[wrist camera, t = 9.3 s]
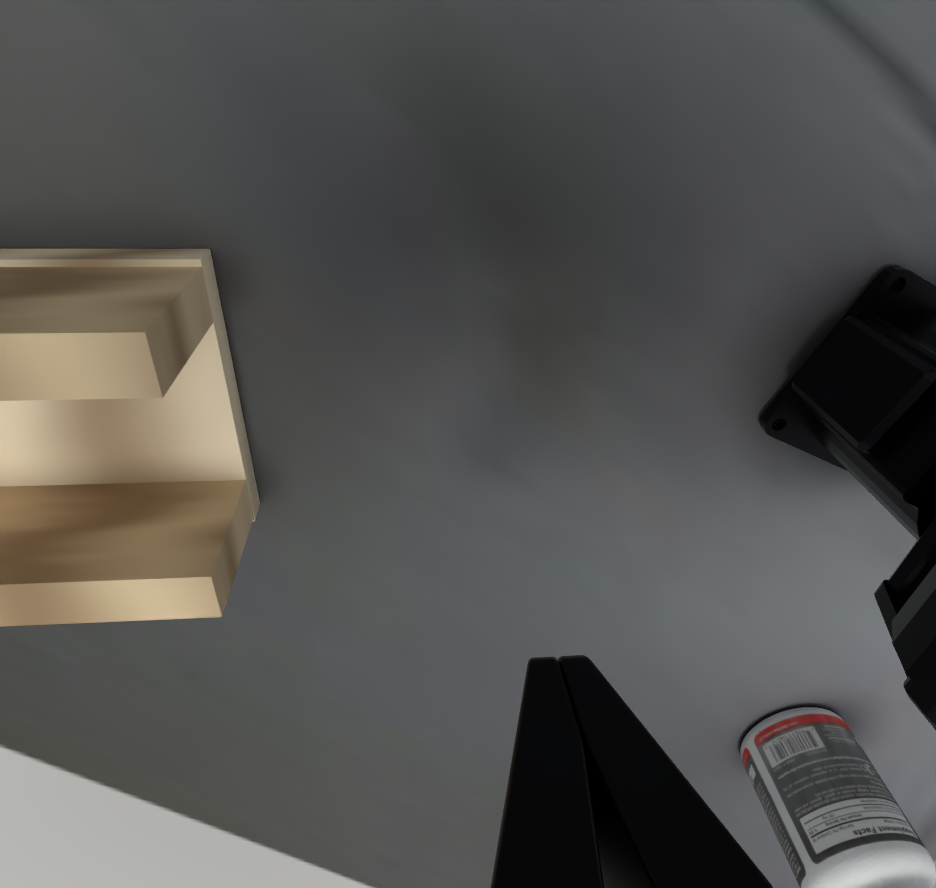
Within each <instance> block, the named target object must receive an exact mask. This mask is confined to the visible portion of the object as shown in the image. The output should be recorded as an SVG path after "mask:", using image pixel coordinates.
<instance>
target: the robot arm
mask: <svg viewBox="0 0 936 888" xmlns="http://www.w3.org/2000/svg"><path fill="white" fill-rule="evenodd" d="M896 278H898V281H897V282H896V284H895V285H894V286H893V287H892V288H890V284H891V283H892V281H894V280H895V279H896ZM780 418H781V419H780ZM777 419H780V421H779V422H778V423H776V424H774V425H772V424H773V422H774V421H776V420H777ZM760 425H761V427H762V429H763V430H764V431H765V432H766V433H767V434H768V435H770V436H772V437H774V438H776V439H778V440H780V441H783V442H785V443H787V444H789V445H792V446H794V447H796V448H798V449H800V450H803V451H805V452H807V453H809V454H812V455H814V456H816V457H818V458H821V459H823V460H825V461H827V462H829V463H832V464H834V465H836V466H838V467H841V468H843V469H845V470H847V471H849V472H850V473H851V474H852V475H853V476H854V477H855V478H856V479H857V480H858V481H859V482H860V483H861V484H862V485H863V486H864V487H865V488H866V489H867V490H868V491H869V492H870V493H871V494H872V495H873V496H874V497H875V498H876V499H877V500H878V501H879V502H880V503H881V504H882V505H883V506H884V507H885V508H886V509H887V510H888V511H889V512H890V513H891V514H892V515H893V516H894V517H895V518H896V519H897V520H898V521H899V522H900V523H901V524H902V525H903V526H904V527H905V528H906V529H907V530H908V531H909V532H910V533H911V534H912V535H913V536H914V537H915V538H916V539H917V540H918V541H917V542H916V543H915V545H914V546H913V547H912V549H911V550H910V551H909V553H908V554H907V556H906V557H905V558H904V560H903V561H902V562H901V564H900V565H899V567H898V568H897V569H896V571H895V572H894V573H893V575H892V576H891V577H890V579H889V580H884V581H883V582H882V584H881V585H880V586H879V588H878V589H877V591H876V592H875V593H874V595H875V598H876V601H877V603H878V606H879V608H880V611H881V613H882V616H883V618H884V621H885V623H886V626H887V628H888V631H889V633H890V636H891V638H892V644H893V646H894V648H895V650H896V652H897V654H898V656H899V659H900V661H901V663H902V666H903V668H904V671H905V673H906V676H907V679H906V680H905V682H904V688H905V690H906V692H907V694H908V696H909V698H910V699H911V701H912V702H913V703H914V704H915V706H916V707H917V708H918V709H919V710H920V712H921V713H922V714H923V715H924V716H925V718H926V719H927V720H928V721H929V723H931V725H932V726H933V727H934V729H935V730H936V286H934V285H933V284H931V283H929V282H928V281H926V280H924V279H923V278H921V277H919V276H918V275H916V274H914V273H913V272H911V271H909V270H907V269H905V268H903V267H901V266H897V265H895V266H890V267H888V268H886V269H884V270H883V271H882V272H881V273H880V274H878V276H877V277H876V278H875V279H874V280H873V282H872V283H871V284H870V285H869V287H868V288H867V289H866V290H865V291H864V293H863V294H862V295H861V296H860V297H859V299H858V300H857V301H856V302H855V303H854V305H853V306H852V307H851V308H850V309H849V311H848V312H847V313H846V314H845V316H844V317H843V318H842V319H841V320H840V322H839V323H838V324H837V325H836V326H835V328H834V329H833V330H832V331H831V332H830V334H829V335H828V336H827V337H826V338H825V340H824V341H823V342H822V343H821V345H820V346H819V347H818V348H817V349H816V351H815V352H814V353H813V354H812V355H811V357H810V358H809V359H808V360H807V361H806V363H805V364H804V365H803V366H802V367H801V369H800V370H799V371H798V372H797V374H796V375H795V376H794V377H793V378H792V380H791V381H790V382H789V383H788V384H787V386H786V387H785V388H784V389H783V390H782V392H781V393H780V394H779V395H778V396H777V398H776V399H775V400H774V401H773V403H772V404H771V405H770V406H769V407H768V409H767V410H766V411H765V412H764V413H763V415H762V417H761V418H760ZM491 888H773V887H772V885H771V884H770V882H769V881H768V880H767V879H766V877H765V876H764V875H763V874H762V872H761V871H760V870H759V869H758V868H757V866H756V865H755V864H754V863H753V861H752V860H751V859H750V858H749V856H748V855H747V854H746V853H745V851H744V850H743V849H742V848H741V846H740V845H739V844H738V843H737V841H736V840H735V839H734V838H733V836H732V835H731V834H730V833H729V831H728V830H727V829H726V828H725V826H724V825H723V824H722V823H721V821H720V820H719V819H718V818H717V817H716V815H715V814H714V813H713V812H712V810H711V809H710V808H709V807H708V805H707V804H706V803H705V802H704V800H703V799H702V798H701V797H700V795H699V794H698V793H697V792H696V790H695V789H694V788H693V787H692V785H691V784H690V783H689V782H688V780H687V779H686V778H685V777H684V775H683V774H682V773H681V772H680V770H679V769H678V768H677V767H676V765H675V764H674V763H673V762H672V761H671V759H670V758H669V757H668V756H667V754H666V753H665V752H664V751H663V749H662V748H661V747H660V746H659V744H658V743H657V742H656V741H655V739H654V738H653V737H652V736H651V734H650V733H649V732H648V731H647V729H646V728H645V727H644V726H643V724H642V723H641V722H640V721H639V719H638V718H637V717H636V716H635V714H634V713H633V712H632V711H631V710H630V708H629V707H628V706H627V705H626V703H625V702H624V701H623V700H622V698H621V697H620V696H619V695H618V693H617V692H616V691H615V690H614V688H613V687H612V686H611V685H610V683H609V682H608V681H607V680H606V678H605V677H604V676H603V675H602V673H601V672H600V671H599V670H598V668H597V667H596V666H595V665H594V663H593V662H592V661H591V660H590V659H589V658H588V657H586V656H584V655H575V656H562V657H560V658H559V659H558V660H557V659H556V658H555V657H538V658H531V659H530V660H529V661H528V666H527V672H526V678H525V684H524V690H523V696H522V702H521V708H520V714H519V720H518V726H517V732H516V738H515V744H514V750H513V756H512V762H511V768H510V774H509V780H508V786H507V792H506V798H505V804H504V810H503V816H502V822H501V828H500V835H499V841H498V847H497V853H496V859H495V865H494V871H493V877H492V883H491Z"/></svg>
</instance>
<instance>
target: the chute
mask: <svg viewBox="0 0 936 888" xmlns="http://www.w3.org/2000/svg"><path fill="white" fill-rule="evenodd" d="M259 506H260V500H259V495H258V490H257V485H256V480H255V475H254V470H253V465H252V460H251V454H250V449H249V444H248V439H247V434H246V429H245V424H244V419H243V414H242V409H241V403H240V398H239V393H238V388H237V383H236V378H235V373H234V368H233V363H232V358H231V353H230V347H229V342H228V337H227V332H226V327H225V322H224V317H223V312H222V307H221V302H220V296H219V291H218V286H217V281H216V276H215V271H214V266H213V261H212V256H211V251H210V249H0V626H22V625H45V624H69V623H92V622H115V621H138V620H161V619H184V618H208V617H222V615H223V612H224V609H225V606H226V603H227V600H228V597H229V593H230V590H231V587H232V584H233V581H234V578H235V575H236V571H237V568H238V565H239V562H240V559H241V556H242V552H243V549H244V546H245V543H246V540H247V537H248V534H249V530H250V527H251V524H252V522H255V519H256V516H257V512H258V509H259Z"/></svg>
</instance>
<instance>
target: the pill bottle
mask: <svg viewBox="0 0 936 888" xmlns="http://www.w3.org/2000/svg"><path fill="white" fill-rule="evenodd" d="M740 754H741V759H742V762H743V765H744V767H745V769H746V772H747V774H748V776H749V778H750V780H751V782H752V784H753V787H754V789H755V791H756V793H757V795H758V797H759V800H760V802H761V804H762V806H763V808H764V810H765V812H766V815H767V817H768V819H769V821H770V823H771V825H772V828H773V830H774V832H775V834H776V836H777V838H778V841H779V843H780V845H781V847H782V849H783V851H784V854H785V856H786V858H787V860H788V862H789V864H790V867H791V869H792V871H793V873H794V875H795V877H796V880H797V882H798V884H799V886H800V888H933V887H934V884H935V880H936V870H935V866H934V863H933V860H932V858H931V856H930V855H929V853H928V851H927V849H926V848H925V846H924V844H923V843H922V841H921V840H920V838H919V837H918V835H917V833H916V832H915V830H914V829H913V827H912V826H911V824H910V822H909V821H908V819H907V818H906V816H905V815H904V813H903V812H902V810H901V809H900V807H899V805H898V804H897V802H896V801H895V799H894V798H893V796H892V794H891V793H890V791H889V790H888V788H887V787H886V785H885V783H884V782H883V780H882V779H881V777H880V776H879V774H878V773H877V771H876V769H875V768H874V766H873V765H872V763H871V761H870V760H869V758H868V757H867V755H866V754H865V752H864V751H863V749H862V747H861V746H860V744H859V743H858V741H857V740H856V738H855V736H854V735H853V733H852V731H851V730H850V728H849V727H848V726H847V724H846V723H845V722H844V720H843V719H842V718H841V717H840V716H838V715H837V714H835V713H833V712H831V711H829V710H826V709H822V708H815V707H802V708H795V709H790V710H786V711H782V712H780V713H777V714H774V715H772V716H770V717H768V718H766V719H764V720H763V721H761V722H760V723H758V724H757V725H756V726H755V727H753V728H752V729H751V730H750V731H749V732H748V734H747V735H746V736H745V738H744V740H743V742H742V744H741V749H740Z"/></svg>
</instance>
